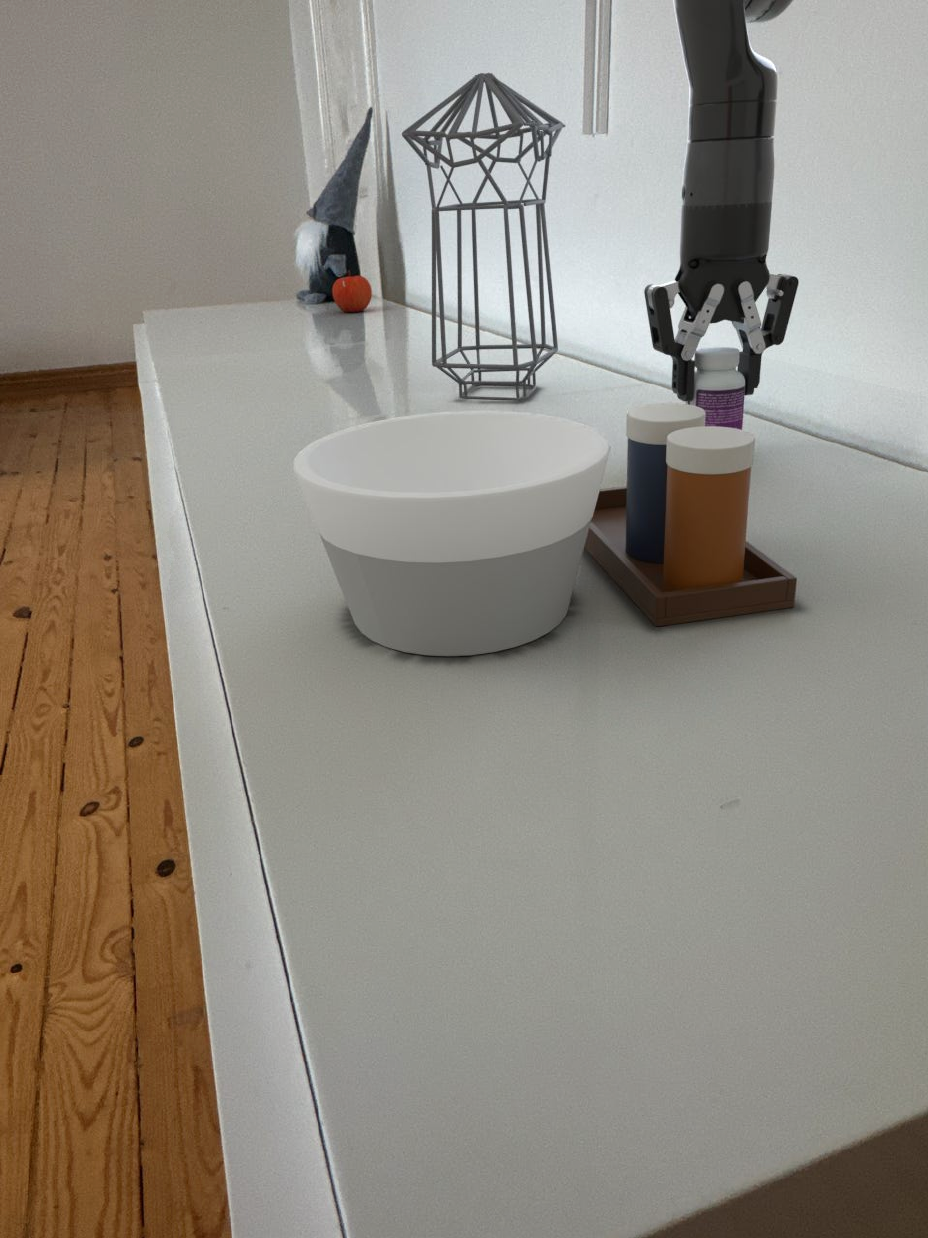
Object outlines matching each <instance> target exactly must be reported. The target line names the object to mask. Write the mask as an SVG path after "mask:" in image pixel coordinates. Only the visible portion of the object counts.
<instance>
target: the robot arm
mask: <svg viewBox="0 0 928 1238" xmlns="http://www.w3.org/2000/svg"><path fill="white" fill-rule="evenodd" d="M672 2H673V3H672V4H673V10H674V16H675V21H676V26H677V31H678V37H679V41H680V48H681V53H682V59H683V65H684V68H685V72H686V77H687V81H688V89H689V92H688V93H689V94H688V95H689V96H688V114H687V115H688V116H687V143H686V150H685V157H684V162H683V169H682V182H681V183H682V184H681V189H680V198H681V209H680V211H681V213H680V237H679V238H680V239H679V269H678V270H677V273H676V275H675V277H674V279H673V280H671V281H668V282H665V283H662V284H658V285H657V284H653V283H650V284H647V285H646V286H645V288H644V291H643V293H644V294H643V295H644V299H645V305H646V313H647V319H648V324H649V325H648V327H649V331H650V338H651V343H652V344H651V345H652V348H653V350H655V351H657V352H658V353H662V354H663V355H666V356H670V357H671V359H672V365H671V366H672V367H671V368H672V369H671V390H672V393H673V394H675V395H676V396H677V399H678V400H680V401H682V402H684V403H686V401H692V400H693V394H694V373H695V371H696V367H695V361H694V357H695V351H696V350H698V349H697V348H698V346H699V343H700V341H701V339H702V338H703V337H704V336H705V335H706V333H707V331H708V328H709V326H710V324H718V323H720V322H723V321H728V322H731V325H732V326H733V328H734V329H735V330H736V333H737V337H738V340H739V343H740V346H741V349H742V351H739V364H738V366H737V369H736V370H737V371H739V372H740V373H741V374H742V375H743V376H744V378H745V395H744V396H753V395H754V393H755V389H758V387H759V385H760V381H761V371H762V370H761V369H762V356H763V353H764V351H765V350H766V349H768V348H770V347H773V346H780V345H782V344H783V342H784V341H785V337H786V333H787V329H788V326H789V323H790V318H791V314H792V311H793V306H794V302H795V298H796V295H797V291H798V287H799V283H800V280H799V278H798V277H797V276H794V275H791V274H785V273H783V274H782V273H778V274H774V273H770V270H769V268H768V266H767V256H768V253H769V248H770V237H771V236H770V234H771V221H772V208H773V207H772V206H773V194H774V182H775V147H774V141H775V138H774V136H775V129H776V128H775V126H776V113H777V99H778V71H777V67H776V65H775V63H774V62H773V61H772V60H770V59H769V58H767V57H764V56H762V55H760V54H758V53H757V52H755V51H754V49H753V48H752V46H751V42H750V38H749V37H750V36H749V32H748V25H747V24H763V23H764V24H765V23H767V22H771V21H773V20H775V19H777V18H778V17H780V16H781V15H782V14H783V13H784V12H786V10H787V9H788V8H789V7H790V5H791V4H792V3H793V2H794V0H672ZM765 289H766V290H765ZM764 291H765V293H766V294H765V295H766V296H767V298H768V300H767V303H766V307H765V310H764V315H763V319H762V320H761V317H760V313H759V311H758V308H757V304H756V302H757V301H758V299H759V298H760V296H761V295H762V293H763V292H764ZM677 294H678V296H679V298H680V299H681V301H682V302H683V304H684V305H685V307H684V309H683V312H682V315H681V317H680V319H679V321H678V325H677V328H678V330H677V333H676V335H675V332H674V328H673V321H672V314H671V308H673V307H674V305H675V298H676V296H677Z"/></svg>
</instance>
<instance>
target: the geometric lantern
mask: <svg viewBox="0 0 928 1238" xmlns="http://www.w3.org/2000/svg"><path fill="white" fill-rule="evenodd" d="M484 85H485V90H486V95H487V100H488V103H489V109H490V110H489V111H490V114H491V119H492V125H493V127H491V128H487V129H483V130H478V125H479V118H480V112H481V106H482V98H483V92H484ZM493 95H494V96H495V98H496V99H497V100H498V102H499V105H500V106H501V107H502V110H503V111H504V112H505V114H506V116H507V118H508V119H509V121H510V123H508V124H505V125H500V126H499V123H498V117H497V111H496V108H495V102H494V97H493ZM475 97H476V100H475V107H474V113H473V120H472V126H471V131H459V129H460V128H461V126H462V123H463V121H464V119H465V117H466V115H467V113H468V111H469V109H470V107H471V105H472V103H473V101H474V99H475ZM451 102H453V103H452V104H451V106H450V107H449V108H448V109H447V110H446V112H445V113H444V114H443V115H442V116H441V117H440V118H439V119H438V121H437V122H436V123H435V124H434V125H433V126H432V127H431V129H430V130H418V129H419V128H420V127H422V125H424V124H425V123H427V121H429V120H430V119H431V118H432V117H433V116H435V115H436V114H437V113H439V112H440V111H441V110H443V109H445V107H446V106H448V105H449V104H450V103H451ZM533 112H534V113H535V114H536V115H538V116H539V117H540V118H541V119H543V120H544V121H545V122H546V123H543V121H541V120H540V119H539V118H538V117H537V116H536V115H535V114H534V113H533ZM443 124H444V125H443ZM451 124H452V125H451ZM442 125H443V126H442ZM450 126H451V127H450ZM440 127H441V129H440V130H439V128H440ZM449 127H450V129H449ZM522 127H525V128H522ZM565 127H566V124H564V123H563V121H561V120H559V119H558V118H556V117H554V116H553V115H551V114H550V113H548V112H547V111H545V110H544V109H543V108H541V107H540V106H538V105H537V104H535V103H533V102H532V101H530V100H529V99H528V98H526V97H524V96H523V95H522V94H520V93H519V92H517V91H515V89H513V88H511V87H510V86H508V85H507V84H505V82H502V81H501V80H500V79H498V78H497V77H496V75H494V74H493V73H492V72H487V73H484V72H480V73H477V74H475V75H474V76H473V77H472V78H470V79H469V80H468V81H467V82H466V83H464V84H463V85H462V86H461V87H459V88H458V89H456V90H455V91H454V92H453V93H452V94H451V95H449V96H448V97H446V98H445V99H444V100H443V101H441V102H440V103H438V104H437V105H436V106H435V107H433V108H432V109H431V110H429V111H428V112H427V113H425V114H424V115H423V116H421V117H420V118H419V119H417V120H416V121H414V123H412V124H411V125H409V126H408V127H407V128H405V130H403V131H402V133H401V137H402V138H403V139H404V140H405V141H406V143H407V144H408V145H409V146H410V147H411V149H412V150H413V151H414V152H415V153H416V154H417V156H418V157H419V158H420V159H421V161H422V162H423V163H424V165H425V166H426V172H427V180H428V189H429V196H430V204H431V365H432V367H434V368H437V369H438V370H439V371H440V372H442V373H444V375H446V376H448V377H449V378H450V379H451V380H453V381H454V382H455V383H457V384H458V391H459V392H458V394H459V396H458V397H459V399H462V400H477V401H479V400H480V401H481V400H483V401H511V402H521V401H524V400H528V398H529V397H531V395H532V394H533V393H534V392H535V391H536V390H537V389H538V385H537V380H536V373H537V371H538V370H539V369H540V368H541V367H543V365H545V363H547V362H548V361H549V360H550V359H551V358H552V357H553V356H554V355H555V354H556V353H557V352H558V351H559V344H558V335H557V334H558V332H557V323H556V311H555V301H554V291H553V281H552V270H551V259H550V250H549V239H548V228H547V218H546V208H545V204H546V203H547V191H548V181H549V171H550V161H551V160H550V159H551V157H552V155H553V147H554V145H555V143H556V142H557V139H558V137H559V136H560V133H561V132H562V130H563V128H565ZM448 129H449V131H448V132H447V130H448ZM437 130H439V131H437ZM446 132H447V133H446ZM503 132H505V133H503ZM527 133H531V140H532V141H531V142H530V143H529V144H528V145H527V146H526V147H525V148H524V149H523V144H524V135H525V134H527ZM546 136H548V144H547V146H546V148H545V137H546ZM518 137H519V145H518V155H516V156H515V157H503V156H502V157H501V156H500V155H501V146H502V144H503V143H504V142H505V141H506V140H507V139H512V138H518ZM431 138H433V139H432V140H431ZM444 138H445V141H446V142H445V143H446V147H447V151H448V157H449V158H448V157H446V156H445V155H444V154H442V150H443V149H442V147H443V142H444V141H443V139H444ZM476 139H482V140H495V141H494V142H493V143H491V144H490V145H488V147H487V148H485V149H484V148H482V147H481V146H479V145H477V144H476V142H475V140H476ZM451 140H458V141H460V142H461V143H463V144H465V145H467V146H468V147H470V148H471V151H472V155H473V158H467V159H464V160H459V161H454V156H453V155H454V154H453V150H452V145H451V142H450V141H451ZM415 142H416V143H417V144H416V143H415ZM539 142H540V149H539ZM418 145H420V146H421V147H422V150H421V149H420V148H419V146H418ZM495 149H496V155H494V154H492V152H493V151H494V150H495ZM532 149H533V156H534V162H533V164H532V167H531V169H530V172H529V174H528V175H527V173H526V171H525V169H524V168H523V166H522V163H521V162H522V158H524V156H526V155H527V154H528V153H529V152H530V151H531V150H532ZM428 152H429V153H431V154H432V155H433V161H430V160H429V159H428ZM477 152H478V153H479V154H478V153H477ZM485 157H486V158H488V159H489V160H491V163H490V165H489V167H488V168H487V166H486V164H485V163H484V161H483V159H484V158H485ZM441 161H442V162H443V163H444V164H445V165H447V166H449V167H450V170H449V173H447V171H446V169H445V167H444V166H443V165H441ZM541 161H545V162H544V171H543V182H542V193H541V198H539V196H538V194H537V192H536V190H535V188H534V186H533V184H532V182H531V180H532V177H533V174H534V171H535V169H536V167H537V164H538V163H539V162H541ZM497 163H508V164H517V165H518V167H519V170H520V171H521V173H522V175H523V177H524V178H525V180H526V182H525V185H524V186H523V190H522V192H521V195H520V197H519V199H515V200H514V199H512V200H507V198H506V197H505V195H504V194H503V192H502V190H501V188H500V187H499V185H498V184H497V182H496V181H495V179H494V178H493V175H492V172H493V170H494V168H495V166H496V164H497ZM474 164H478V165H479V166H480V169H481V170H482V171H483V173H484V177H483V180H482V181H481V183H480V185H479V187H478V189H477V192H476V194H475V196H474V198H473V199H472V202H463V201H462V200H461V197H460V196H459V194H458V192H457V190H456V188H455V187H454V185H453V183H452V181H451V177H452V175H453V173H454V170H455V168H460V167H465V166H469V165H474ZM432 169H436V170H439V169H441V171H442V173H443V175H444V177H445V179H446V180H445V183H444V185H443V188H442V190H441V193H440V196H439V199H438V201H437V203H436V197H435V189H434V181H433V173H432ZM488 181H489V183H490V184H491V186H492V188H493V189H494V191H495V193H496V194H497V196H498V197H499V199H500V200H499V201H498V200H497V201H484V202H483V201H482V202H478V200H479V198H480V196H481V194H482V192H483V190H484V188H485V186H486V184H487V182H488ZM448 185H449V186H450V188H451V190H452V192H453V193H454V195H455V198H456V199H457V201H458V203H454V204H448V205H442V206H441V203H442V201H443V198H444V196H445V193H446V190H447V188H448ZM528 187H529V188H530V190H531V192H532V194H533V196H534V198H527V199H524V197H525V194H526V192H527V189H528ZM534 205H535V219H536V222H535V223H536V243H537V246H536V247H537V265H538V284H539V285H538V288H539V289H538V290H539V314H540V336H541V337H540V340H541V343H537V339H536V330H535V329H536V328H535V318H534V317H535V316H534V306H533V296H532V284H531V283H532V282H531V273H530V262H529V261H530V260H529V252H528V240H527V230H526V217H525V207H529V206H534ZM497 209H498V210H499V209H503V222H504V223H503V224H504V240H505V254H506V255H505V256H506V272H507V286H508V302H509V315H510V316H509V317H510V332H511V333H510V334H511V344H481V335H480V305H479V304H480V303H479V301H480V300H479V299H480V298H479V275H478V273H479V272H478V244H477V243H478V241H477V217H476V216H477V215H476V213H477V212H476V210H497ZM509 210H518V214H519V225H520V238H521V248H522V259H523V269H524V280H525V288H526V289H525V291H526V301H527V313H528V322H529V335H530V343H522V344H521V343H519V344H518V342H517V341H518V340H517V326H516V325H517V324H516V311H515V310H516V309H515V293H514V280H513V277H514V276H513V263H512V247H511V233H510V232H511V231H510V221H509V220H510V219H509ZM455 211H456V257H457V258H456V262H457V263H456V264H457V265H456V266H457V267H456V268H457V272H456V273H457V275H456V277H457V347H456V348H455V349H453V350H452V351H450V352H447V343H446V342H447V341H446V323H445V322H446V321H445V302H444V282H443V280H444V279H443V263H442V244H441V243H442V242H441V224H440V223H441V221H440V212H455ZM462 211H471V241H472V242H471V245H472V272H473V273H472V275H473V299H474V301H473V303H474V330H475V332H474V333H475V345H464V346H463V265H462V263H463V261H462V260H463V259H462V258H463V255H462V253H463V251H462V249H463V248H462V246H463V245H462V243H463V241H462ZM543 250H544V261H543ZM543 262H545V272H546V282H547V283H546V284H547V292H548V303H549V304H548V305H549V313H550V323H551V333H552V345H551V344H547V340H546V339H547V338H546V337H547V335H546V313H545V312H546V310H545V308H546V307H545V287H544V263H543ZM437 289H438V290H437ZM437 291H438V307H439V308H438V310H439V330H440V345H441V346H440V347H441V357H439V358H437ZM521 349H522V350H523V349H524V350H527V349H528V350H529V349H531V351H532V352H531V353H532V360H531V361H527V362H523V363H520V364H519V357H518V356H519V355H518V350H521ZM537 349H539V350H537ZM480 350H512V359H513V360H512V361H513V364H498V363H497V364H491V363H490V364H489V363H481V357H480V356H481V355H480ZM544 350H549V351H547V352H546V353H544V354H543V355H542V353H543V352H544ZM464 351H476V363H471V362H470V360H469V359H468V357H467V355H466V353H465V352H464ZM458 353H460V354H461V356H462V358H463V360H464V361H465V362H466V363H448V359H450V358H451V357H453V356H455V355H456V354H458ZM446 369H447V370H448V371H447V370H446ZM454 369H467V370H468V369H470V371H469V372H468V373H467V374H465V375H464V376H463V377H462V378H461V376H459V374H457V372H456V371H454ZM525 371H527V373H526V374H525V375H524V377H523V378H522V380H520V372H525ZM497 372H499V373H501V372H515V381H509V380H508V381H505V380H502V381H500V380H499V381H497V380H496V381H495V380H494V381H493V380H491V381H490V380H484V381H483V380H482V373H497ZM475 373H478V375H477V377H478V378H477V380H475ZM469 377H470V379H471V380H467V379H468V378H469ZM531 377H532V384H531ZM467 385H470V386H469V387H468V386H467ZM477 387H512V388H513V387H515V397H508V396H507V397H504V396H474V395H468V393H469V392H470V391H471V390H472V389H474V388H477ZM521 387H522V396H521V397H520V388H521ZM527 388H531V389H530V390H529V392H528V393H527Z"/></svg>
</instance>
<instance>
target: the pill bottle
mask: <svg viewBox="0 0 928 1238" xmlns="http://www.w3.org/2000/svg"><path fill="white" fill-rule="evenodd" d="M739 352H740V349H738V348H736V347H732V346H731V347H729V346H709V347H702V348H698V349H696V351H695V353H694V356H693V360H694V361H695V369H696V370H695V373H694V394H693V400H692V401H685V402H684V404H688V405H693V406H697V407H700V408H702V409H704V410H705V413H706V415H705V426H717V427H729V428H736V429H740V430H743V426H744V424H743V423H744V410H745V409H744V408H745V396H746V395H745V378H744V376H743V375H742V374H741V373H740V372H739V371H737V370H738V369H737V368H738V364H739Z"/></svg>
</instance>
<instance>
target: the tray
mask: <svg viewBox="0 0 928 1238" xmlns="http://www.w3.org/2000/svg"><path fill="white" fill-rule="evenodd" d="M626 501H627V485H623V486H617V487H608V488H600V491H599V495H598V499H597V502H596V506H595V510H594V514H593V517H592V519H591V523H590V527H589V530H588V534H587V538H586V542H585V546H584V549H585V550H586V551H587V553H589V555H590V556H591V557H592V559H594V560H595V561H596V562H597V563H598V565H600V567H601V568H602V569H603V570H604V571H605V572H606V574H608V576H609V577H610V578H611V579H612V580H613V581H614V582H615V583H616V584H617V585H618V587H619V588H620V589H621V590H622V591H623V592H624V593H625V594H626V595H627V597H629V599H630V600H631V601H632V602H633V603H634V604H635V605H636V606H637V607H638V609H639V610H640V611H641V612H642V613H643V614H644V615H645V616H646V617H647V618H648V619H649V620H650V622H651V623H652V624H653V625H654V626H655V627H663V626H670V625H677V624H685V623H693V622H699V621H705V620H713V619H718V618H726V617H734V616H740V615H746V614H755V613H760V612H761V613H763V612H768V611H774V610H782V609H783V610H784V609H789V608H794V607H795V599H796V591H797V583H798V578H797V577H796V576H794V575H793V574H792V573H791V572H789V571H788V570H786V569H785V568H783V567H782V566H781V565H780V564H778V563H777V562H776V561H774V560H773V559H771V558H770V557H769V556H767V554H764V553H763V552H762V551H760V550H759V549H758V548H756V547H755V546H753V545H752V544H751V543H749V541H747V540H746V542H745V555H744V568H743V581H742V582H737V583H730V584H722V585H715V586H708V587H701V588H693V589H686V590H679V591H671V592H665V590H664V588H663V572H664V563H651V562H645V561H641V560H638V559H635V558H633V557H631V556H629V555H628V554H627V552H626Z"/></svg>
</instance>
